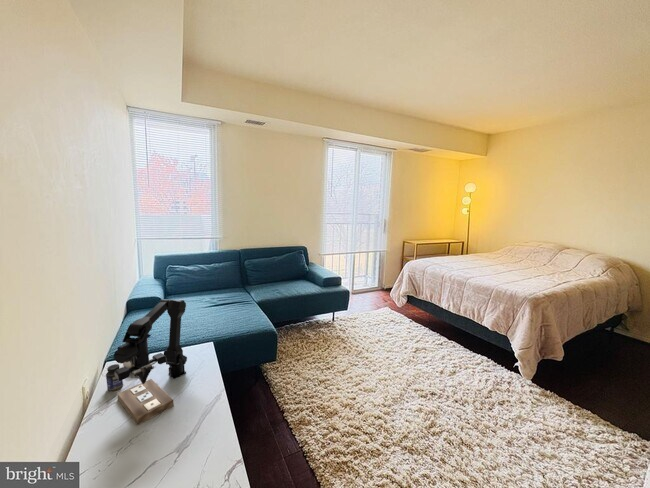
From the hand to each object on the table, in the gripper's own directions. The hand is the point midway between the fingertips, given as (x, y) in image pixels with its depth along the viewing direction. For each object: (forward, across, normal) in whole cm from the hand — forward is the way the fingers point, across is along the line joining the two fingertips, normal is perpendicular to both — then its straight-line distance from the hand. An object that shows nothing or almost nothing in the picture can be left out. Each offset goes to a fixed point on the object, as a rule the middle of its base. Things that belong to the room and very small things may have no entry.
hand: (143, 383), depth 125 cm
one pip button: (+9, 0, +8) cm, 12 cm away
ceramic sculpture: (+10, -7, -31) cm, 33 cm away
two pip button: (+9, 0, -8) cm, 12 cm away
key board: (+10, 0, 0) cm, 10 cm away
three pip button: (+9, 0, 0) cm, 9 cm away
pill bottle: (+10, +5, -23) cm, 26 cm away
